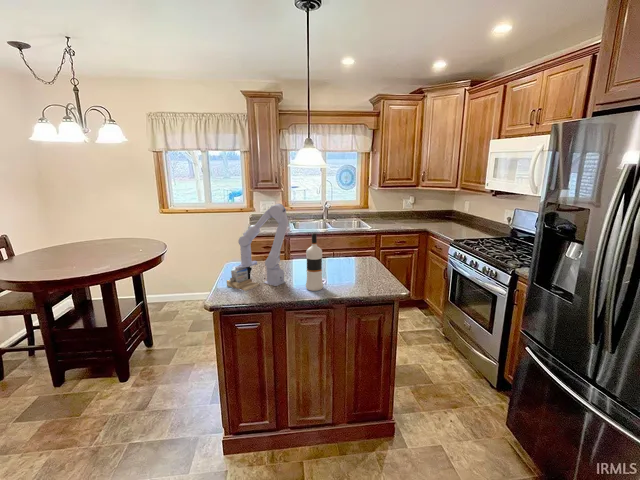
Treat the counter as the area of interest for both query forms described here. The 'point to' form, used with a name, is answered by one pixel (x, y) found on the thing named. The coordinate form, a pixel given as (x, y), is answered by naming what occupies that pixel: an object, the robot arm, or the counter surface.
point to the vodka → (314, 266)
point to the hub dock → (242, 284)
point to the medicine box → (240, 275)
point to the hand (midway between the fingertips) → (247, 279)
